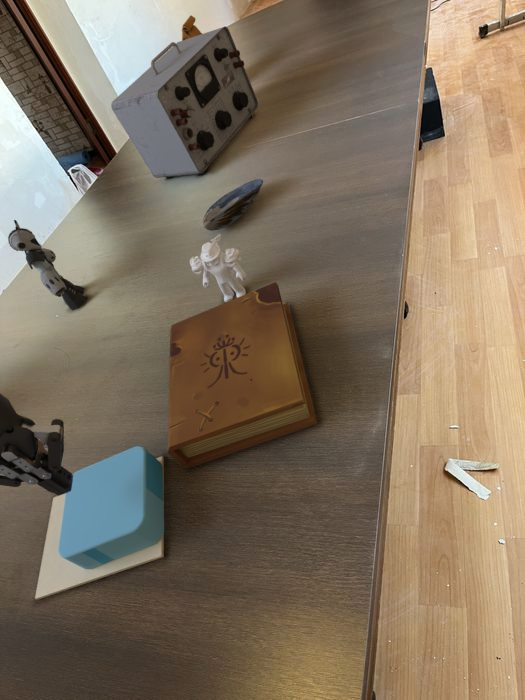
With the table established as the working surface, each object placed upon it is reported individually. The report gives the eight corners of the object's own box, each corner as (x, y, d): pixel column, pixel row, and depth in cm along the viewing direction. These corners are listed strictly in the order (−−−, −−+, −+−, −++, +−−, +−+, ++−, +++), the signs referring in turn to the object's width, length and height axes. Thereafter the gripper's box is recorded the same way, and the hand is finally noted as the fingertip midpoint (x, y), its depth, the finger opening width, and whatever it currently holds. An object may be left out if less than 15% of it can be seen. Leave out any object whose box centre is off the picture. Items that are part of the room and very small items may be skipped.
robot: (61, 286, 115) (-3, 217, 101) (79, 274, 115) (17, 204, 102) (74, 327, 100) (1, 253, 87) (94, 313, 101) (24, 237, 87)
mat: (37, 600, 61) (34, 599, 61) (55, 498, 71) (53, 497, 71) (163, 557, 58) (161, 555, 58) (164, 457, 68) (162, 455, 68)
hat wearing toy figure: (260, 282, 85) (230, 227, 77) (256, 298, 83) (225, 243, 74) (214, 292, 89) (181, 240, 80) (210, 307, 86) (175, 256, 78)
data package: (80, 573, 61) (165, 541, 59) (55, 561, 58) (144, 526, 56) (88, 488, 69) (162, 457, 67) (67, 474, 66) (144, 441, 64)
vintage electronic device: (209, 179, 120) (154, 77, 103) (158, 184, 131) (101, 92, 114) (267, 108, 135) (227, 8, 118) (217, 118, 145) (174, 27, 128)
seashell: (262, 230, 96) (252, 209, 92) (206, 245, 100) (194, 226, 97) (272, 187, 105) (263, 166, 102) (220, 202, 110) (210, 183, 107)
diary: (185, 349, 81) (167, 326, 78) (289, 307, 78) (276, 281, 74) (185, 469, 65) (162, 448, 61) (317, 424, 61) (302, 398, 57)
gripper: (11, 351, 47) (117, 441, 59) (-96, 400, 50) (26, 477, 61) (-9, 411, 42) (112, 497, 54) (-128, 463, 44) (13, 534, 56)
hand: (66, 486), depth 57 cm, fingers closed
